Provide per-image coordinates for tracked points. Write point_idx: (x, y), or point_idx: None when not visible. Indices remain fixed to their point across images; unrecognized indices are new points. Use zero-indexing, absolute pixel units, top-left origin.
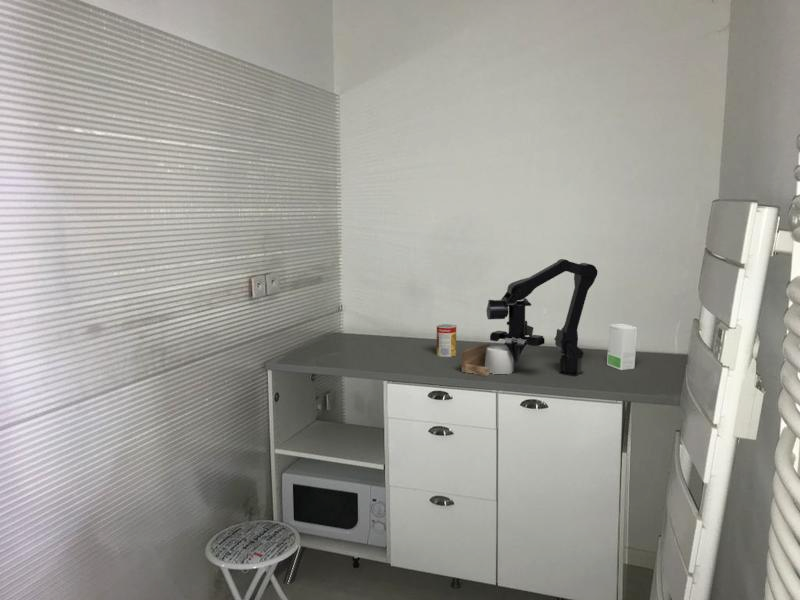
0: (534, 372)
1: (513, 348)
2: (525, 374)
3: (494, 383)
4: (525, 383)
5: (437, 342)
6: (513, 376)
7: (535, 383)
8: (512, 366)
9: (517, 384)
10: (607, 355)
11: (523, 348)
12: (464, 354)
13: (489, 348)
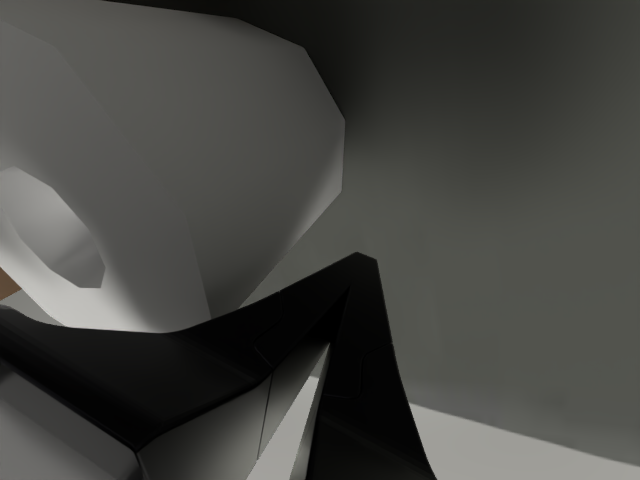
0: (596, 19)
1: (254, 457)
2: (471, 160)
3: (318, 374)
4: (484, 383)
5: None
6: (377, 245)
7: (564, 388)
8: (323, 163)
9: (434, 395)
10: None
11: (420, 441)
12: (12, 288)
13: (3, 257)
